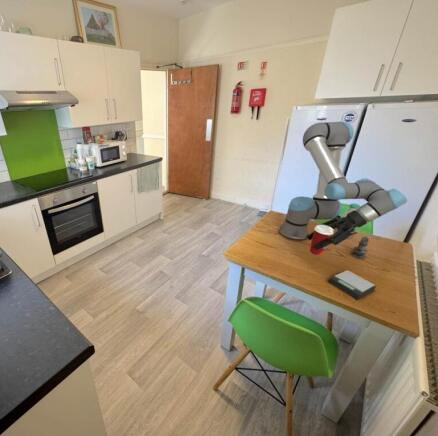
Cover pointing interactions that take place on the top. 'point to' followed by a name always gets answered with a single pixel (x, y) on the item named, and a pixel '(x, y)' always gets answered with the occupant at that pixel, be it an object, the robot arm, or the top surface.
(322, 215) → the robot arm
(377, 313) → the top surface
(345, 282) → the scale
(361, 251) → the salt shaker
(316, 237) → the paper cup
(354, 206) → the milk bottle
